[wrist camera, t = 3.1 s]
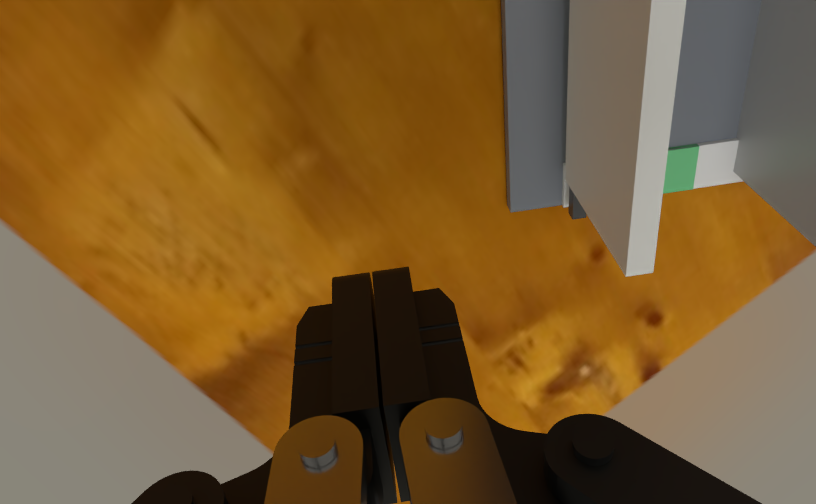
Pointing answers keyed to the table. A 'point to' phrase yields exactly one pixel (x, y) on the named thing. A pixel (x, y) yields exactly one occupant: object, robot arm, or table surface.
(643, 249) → the panel
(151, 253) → the table surface
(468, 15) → the table surface
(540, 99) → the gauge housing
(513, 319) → the table surface
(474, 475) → the robot arm
